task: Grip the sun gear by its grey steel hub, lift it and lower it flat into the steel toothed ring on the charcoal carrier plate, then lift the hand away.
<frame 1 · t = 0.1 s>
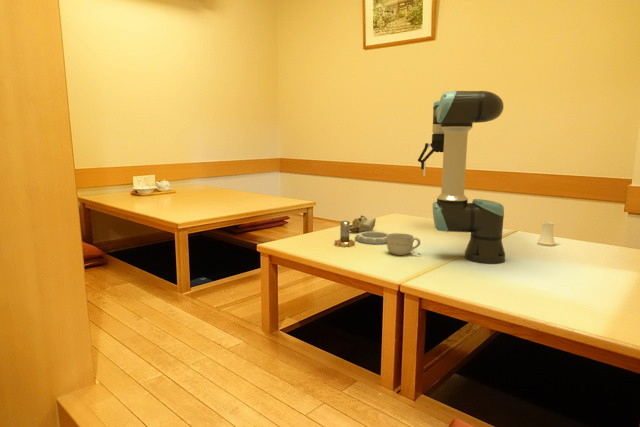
hand: (437, 176, 220), 28 cm above the table, fingers open, 13 cm apart
vase: (546, 244, 198), on the table
sun gear: (344, 244, 196), on the table
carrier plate: (374, 239, 205), on the table
ceramic sculpture: (360, 232, 223), on the table
teacup: (402, 254, 181), on the table
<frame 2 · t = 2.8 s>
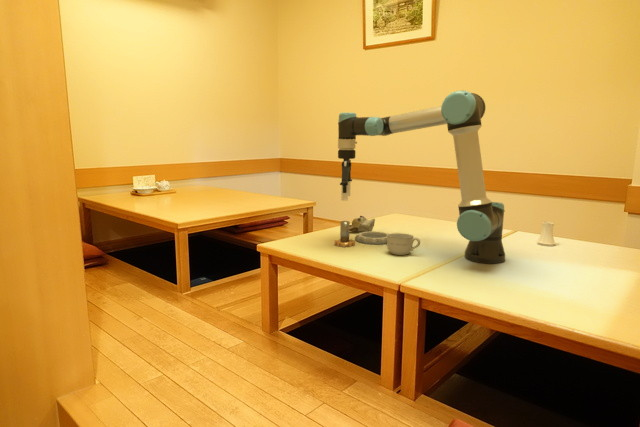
hand: (345, 198, 193), 21 cm above the table, fingers open, 13 cm apart
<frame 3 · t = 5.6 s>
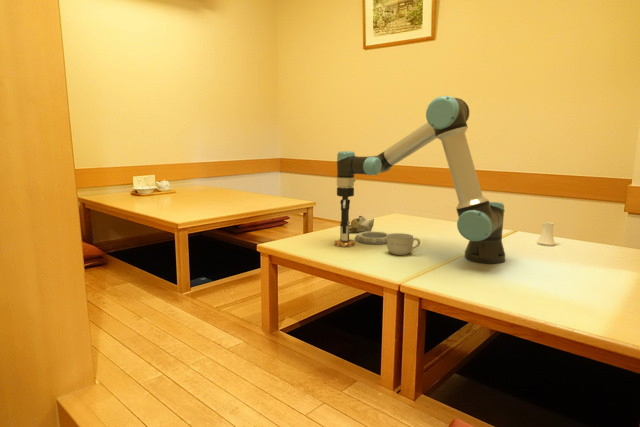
hand: (344, 238, 196), 3 cm above the table, fingers closed on sun gear, 4 cm apart
sun gear: (344, 244, 196), on the table, touching gripper
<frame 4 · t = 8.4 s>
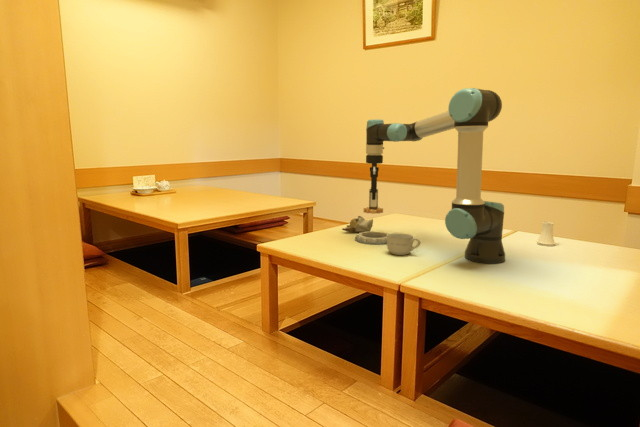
hand: (373, 205, 201), 16 cm above the table, fingers closed on sun gear, 4 cm apart
sun gear: (373, 212, 202), point 13 cm above the table, touching gripper
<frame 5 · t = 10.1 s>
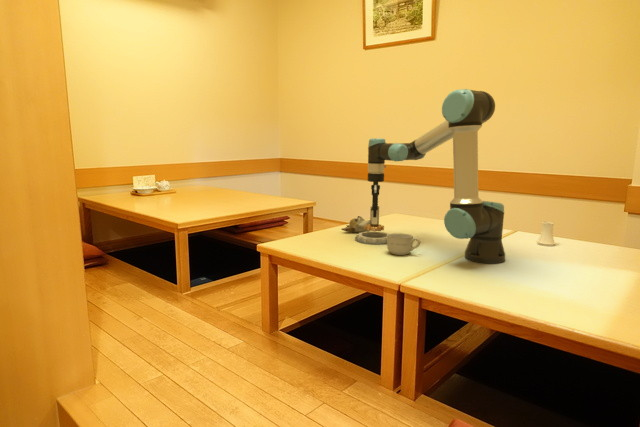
hand: (374, 222, 204), 8 cm above the table, fingers closed on sun gear, 4 cm apart
sun gear: (374, 229, 204), point 5 cm above the table, touching gripper
when the fingers open (4 cm above the table, at t = 11.5 s): sun gear drops 1 cm, resting on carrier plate.
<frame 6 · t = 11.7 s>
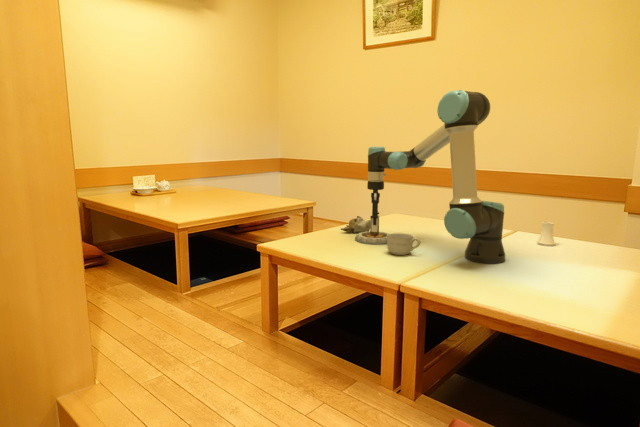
hand: (374, 229, 204), 5 cm above the table, fingers open, 7 cm apart
sun gear: (374, 238, 205), point 1 cm above the table, touching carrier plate
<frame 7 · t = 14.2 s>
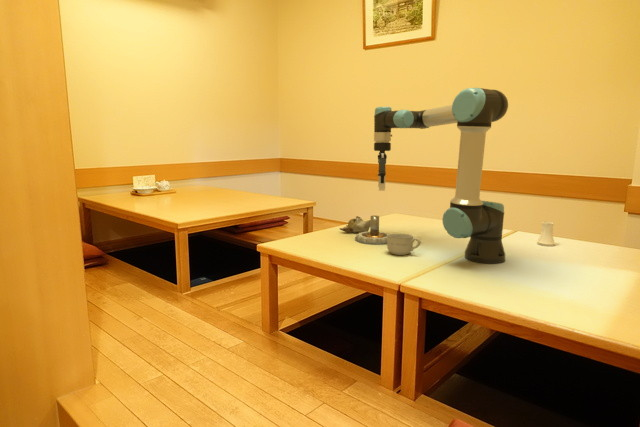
hand: (381, 188, 201), 24 cm above the table, fingers open, 13 cm apart
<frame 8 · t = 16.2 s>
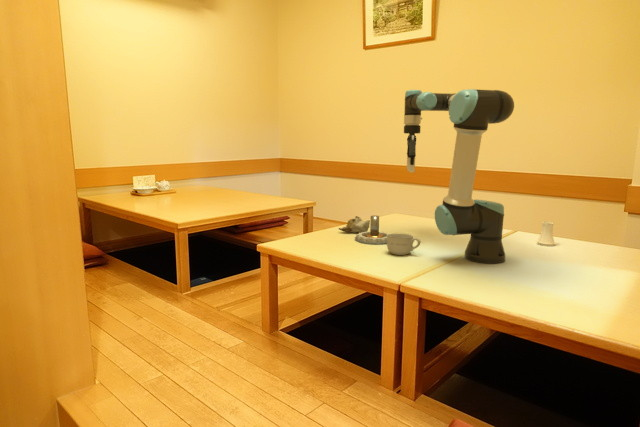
hand: (410, 171, 206), 32 cm above the table, fingers open, 13 cm apart
at the end: sun gear 0.1 cm off-centre on the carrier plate, point 0.8 cm above the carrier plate's base; sun gear tilted 0°; the gripper is holding nothing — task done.
